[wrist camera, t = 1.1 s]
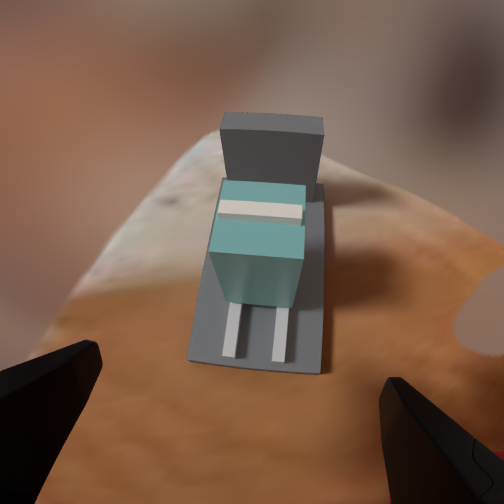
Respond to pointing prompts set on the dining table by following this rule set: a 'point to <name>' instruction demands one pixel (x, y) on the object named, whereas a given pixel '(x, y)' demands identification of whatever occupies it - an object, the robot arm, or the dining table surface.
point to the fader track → (312, 273)
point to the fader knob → (259, 242)
